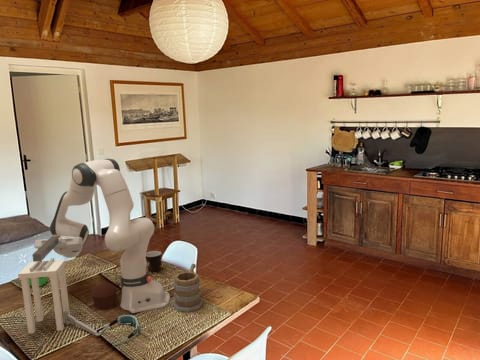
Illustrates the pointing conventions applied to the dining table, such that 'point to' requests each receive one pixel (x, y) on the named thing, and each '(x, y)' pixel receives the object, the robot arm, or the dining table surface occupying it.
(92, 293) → the muffin
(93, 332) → the caliper
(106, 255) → the dining table surface
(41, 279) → the fruit basket
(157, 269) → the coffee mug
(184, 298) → the tankard
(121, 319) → the sunglasses
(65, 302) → the pin stand
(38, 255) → the pin
